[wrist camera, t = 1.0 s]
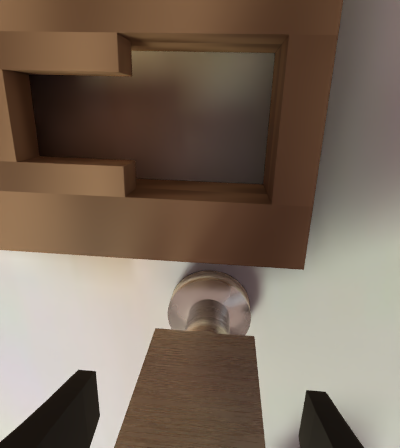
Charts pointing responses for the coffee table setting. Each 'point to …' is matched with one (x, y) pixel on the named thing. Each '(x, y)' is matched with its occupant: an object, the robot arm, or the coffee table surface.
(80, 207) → the keyhole plate
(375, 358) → the coffee table surface
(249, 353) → the steel peg
